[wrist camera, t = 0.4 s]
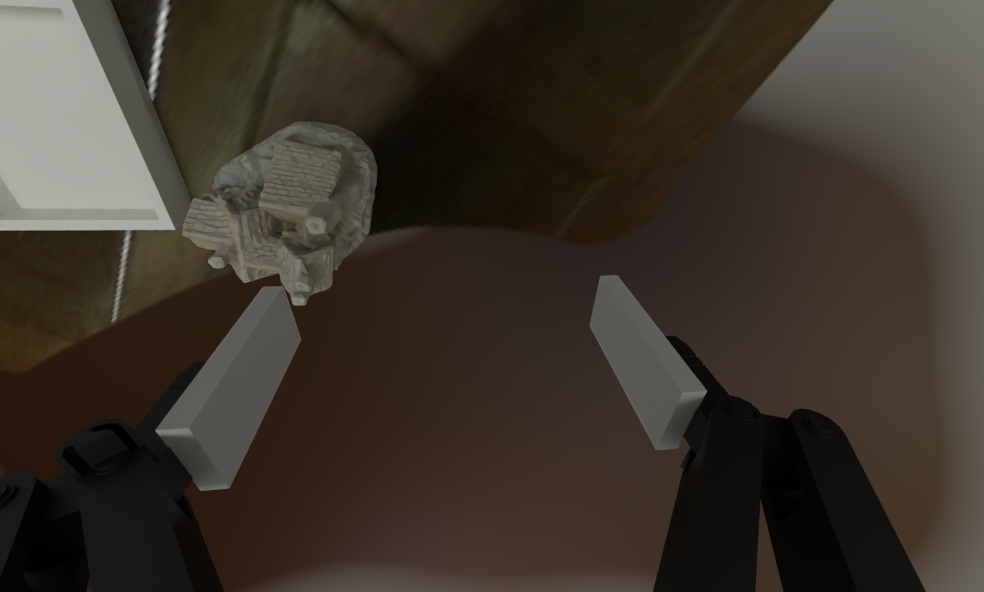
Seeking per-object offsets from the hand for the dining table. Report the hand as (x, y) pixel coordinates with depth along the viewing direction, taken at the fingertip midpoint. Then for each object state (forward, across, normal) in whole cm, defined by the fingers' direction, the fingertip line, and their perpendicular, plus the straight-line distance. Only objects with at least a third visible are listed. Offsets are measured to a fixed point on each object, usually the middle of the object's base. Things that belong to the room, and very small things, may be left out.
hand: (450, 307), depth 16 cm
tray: (+28, -34, +3) cm, 44 cm away
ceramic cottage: (+28, -16, -4) cm, 32 cm away
